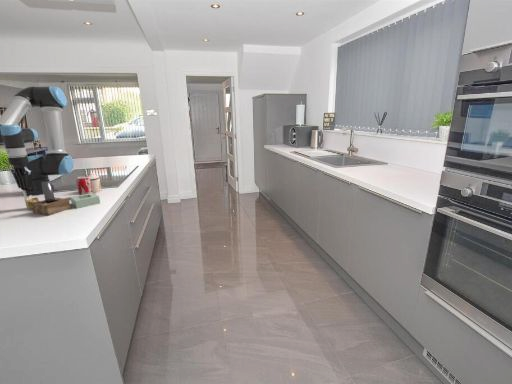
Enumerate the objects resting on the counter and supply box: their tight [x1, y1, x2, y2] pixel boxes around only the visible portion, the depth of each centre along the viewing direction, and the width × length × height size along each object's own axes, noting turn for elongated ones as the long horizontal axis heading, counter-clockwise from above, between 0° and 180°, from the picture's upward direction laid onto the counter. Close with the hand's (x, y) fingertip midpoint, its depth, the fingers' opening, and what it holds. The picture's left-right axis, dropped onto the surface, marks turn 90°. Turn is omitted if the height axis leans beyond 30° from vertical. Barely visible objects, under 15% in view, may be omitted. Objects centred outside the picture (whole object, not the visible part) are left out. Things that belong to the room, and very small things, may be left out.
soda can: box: [75, 175, 93, 195], centre depth 159 cm, size 7×7×12 cm
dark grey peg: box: [41, 180, 56, 204], centre depth 136 cm, size 4×4×15 cm
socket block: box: [31, 196, 72, 216], centre depth 137 cm, size 11×11×5 cm
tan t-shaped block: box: [24, 197, 40, 209], centre depth 140 cm, size 9×5×4 cm, turn 71°
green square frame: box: [70, 193, 101, 209], centre depth 147 cm, size 11×11×4 cm
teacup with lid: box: [87, 172, 102, 194], centre depth 172 cm, size 12×9×12 cm
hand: (29, 201), depth 142 cm, fingers closed
